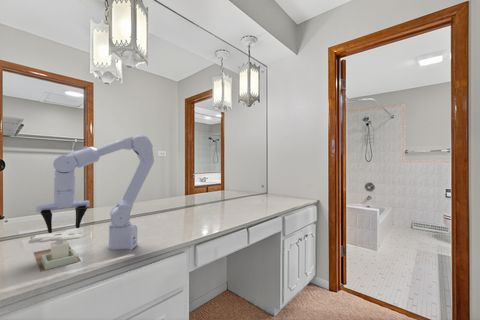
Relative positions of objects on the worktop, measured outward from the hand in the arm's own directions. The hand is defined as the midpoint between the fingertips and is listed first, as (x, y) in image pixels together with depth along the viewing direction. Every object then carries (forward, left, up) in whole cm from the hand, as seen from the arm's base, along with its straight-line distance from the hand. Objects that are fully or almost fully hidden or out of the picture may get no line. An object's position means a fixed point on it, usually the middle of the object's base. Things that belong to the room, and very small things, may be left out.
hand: (64, 229), depth 79 cm
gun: (+14, -17, -10) cm, 24 cm away
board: (+1, +2, -9) cm, 10 cm away
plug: (-3, +6, -8) cm, 10 cm away
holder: (-3, +6, -9) cm, 11 cm away
